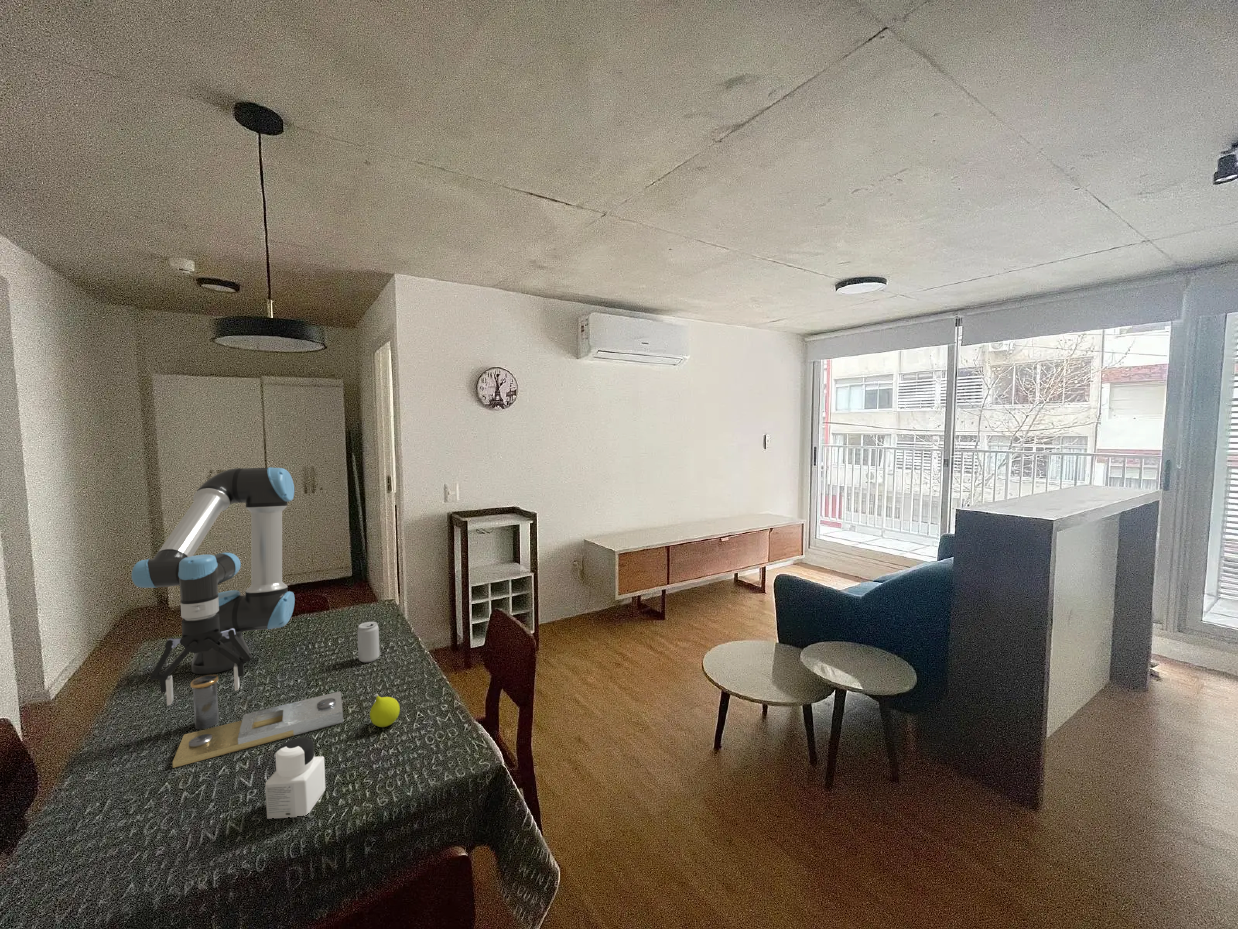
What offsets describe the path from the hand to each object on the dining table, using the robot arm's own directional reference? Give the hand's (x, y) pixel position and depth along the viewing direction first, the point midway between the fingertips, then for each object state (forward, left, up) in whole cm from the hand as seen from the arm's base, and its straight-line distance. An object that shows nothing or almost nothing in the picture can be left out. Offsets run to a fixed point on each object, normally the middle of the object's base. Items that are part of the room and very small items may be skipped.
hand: (204, 695), depth 130 cm
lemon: (+25, +40, -8) cm, 48 cm away
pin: (0, 0, -8) cm, 8 cm away
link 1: (+12, +8, -8) cm, 16 cm away
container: (+46, +21, -8) cm, 51 cm away
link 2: (+12, +20, -8) cm, 24 cm away
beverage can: (-19, +40, -8) cm, 45 cm away
